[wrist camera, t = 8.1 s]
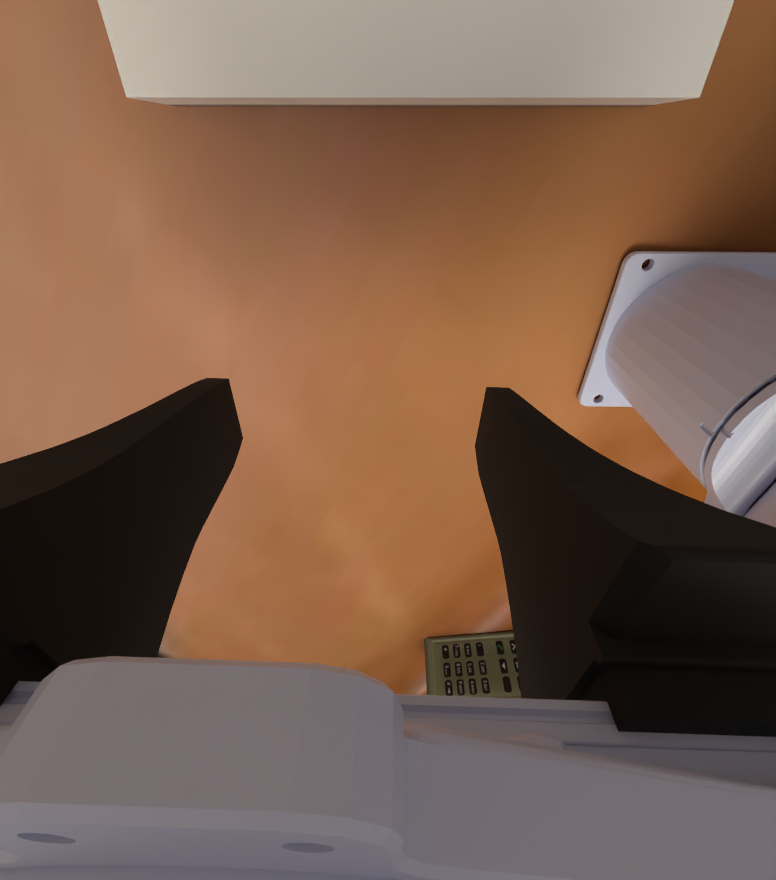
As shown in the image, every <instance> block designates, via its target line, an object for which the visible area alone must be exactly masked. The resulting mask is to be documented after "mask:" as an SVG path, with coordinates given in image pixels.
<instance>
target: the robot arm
mask: <svg viewBox="0 0 776 880" xmlns="http://www.w3.org/2000/svg"><path fill="white" fill-rule="evenodd" d="M647 259H650V263H649V265H648V266H647V267H646V268H644V269H642V264H643V262H644V261H645V260H647ZM597 395H600V397H599V398H598V399H595V400H594V398H595V397H596V396H597ZM578 400H579V402H580V403H581V404H582V405H583V406H608V407H633V408H634V409H635V410H636V411H637V412H638V413H639V414H640V415H641V417H642V418H643V419H644V420H645V421H646V422H647V423H648V424H649V426H650V427H651V428H652V429H653V430H654V431H655V432H656V433H657V435H658V436H659V437H660V438H661V439H662V440H663V441H664V442H665V444H666V445H667V446H668V447H669V448H670V449H671V450H672V451H673V453H674V454H675V455H676V456H677V457H678V458H679V459H680V460H681V462H682V463H683V464H684V465H685V466H686V467H687V468H688V469H689V471H690V472H691V473H692V474H693V475H694V476H695V477H696V478H697V480H698V481H699V482H700V483H701V484H702V485H703V486H704V487H705V489H706V490H707V496H706V499H705V501H704V503H703V502H701V501H698V500H696V499H693V498H690V497H688V496H685V495H683V494H680V493H678V492H676V491H673V490H671V489H669V488H666V487H664V486H662V485H660V484H658V483H655V482H653V481H651V480H649V479H647V478H645V477H643V476H641V475H638V474H636V473H634V472H632V471H630V470H628V469H626V468H625V467H623V466H621V465H619V464H617V463H615V462H614V461H612V460H610V459H608V458H607V457H605V456H603V455H601V454H600V453H598V452H596V451H595V450H593V449H591V448H590V447H588V446H586V445H585V444H583V443H582V442H581V441H579V440H578V439H576V438H575V437H573V436H572V435H570V434H569V433H567V432H566V431H565V430H563V429H562V428H560V427H559V426H558V425H556V424H555V423H554V422H552V421H551V420H550V419H548V418H547V417H546V416H545V415H543V414H542V413H541V412H539V411H538V410H537V409H536V408H534V407H533V406H532V405H531V404H529V403H528V402H527V401H526V400H524V399H523V398H522V397H521V396H519V395H518V394H517V393H515V392H514V391H513V390H511V389H510V388H498V387H486V392H485V398H484V403H483V408H482V413H481V418H480V423H479V428H478V433H477V438H476V443H475V449H476V457H477V465H478V471H479V477H480V480H481V484H482V487H483V491H484V494H485V498H486V501H487V505H488V508H489V512H490V515H491V518H492V522H493V525H494V529H495V532H496V535H497V539H498V543H499V547H500V551H501V556H502V562H503V568H504V573H505V579H506V585H507V592H508V598H509V605H510V611H511V618H512V625H513V633H514V640H515V648H516V656H517V663H518V672H519V682H520V691H521V698H495V697H467V696H438V695H409V694H394V692H393V691H392V690H391V689H390V688H389V687H388V686H387V685H386V684H385V683H383V682H381V681H379V680H377V679H375V678H372V677H370V676H368V675H366V674H364V673H362V672H360V671H358V670H355V669H348V668H342V667H335V666H329V665H322V664H316V663H294V662H265V661H236V660H207V659H178V658H157V655H158V651H159V648H160V645H161V641H162V638H163V635H164V631H165V628H166V625H167V622H168V618H169V615H170V612H171V609H172V606H173V603H174V600H175V597H176V594H177V591H178V588H179V585H180V583H181V580H182V577H183V574H184V571H185V569H186V566H187V563H188V561H189V558H190V555H191V553H192V550H193V547H194V545H195V542H196V540H197V538H198V536H199V534H200V532H201V529H202V527H203V525H204V524H205V522H206V520H207V518H208V516H209V514H210V512H211V510H212V508H213V506H214V504H215V502H216V500H217V498H218V497H219V495H220V493H221V491H222V489H223V487H224V485H225V483H226V481H227V479H228V477H229V475H230V473H231V471H232V469H233V467H234V464H235V461H236V458H237V455H238V452H239V449H240V446H241V443H242V439H243V436H242V432H241V428H240V424H239V420H238V416H237V412H236V407H235V403H234V399H233V395H232V391H231V387H230V383H229V379H220V378H206V379H203V380H200V381H198V382H195V383H193V384H191V385H189V386H187V387H185V388H183V389H181V390H179V391H177V392H175V393H173V394H171V395H169V396H167V397H165V398H163V399H161V400H159V401H158V402H156V403H154V404H152V405H150V406H148V407H146V408H144V409H142V410H140V411H138V412H136V413H133V414H131V415H129V416H127V417H125V418H123V419H121V420H119V421H116V422H114V423H112V424H110V425H108V426H106V427H103V428H101V429H99V430H97V431H94V432H92V433H89V434H87V435H84V436H82V437H79V438H77V439H74V440H71V441H69V442H66V443H63V444H61V445H58V446H55V447H52V448H49V449H46V450H43V451H40V452H37V453H33V454H30V455H27V456H24V457H21V458H18V459H15V460H11V461H8V462H5V463H2V464H0V880H776V252H693V251H635V252H632V253H630V254H628V255H627V256H626V257H625V258H624V260H623V262H622V265H621V268H620V271H619V274H618V277H617V280H616V283H615V286H614V289H613V292H612V295H611V298H610V301H609V304H608V307H607V310H606V313H605V316H604V319H603V322H602V325H601V328H600V331H599V334H598V337H597V340H596V343H595V346H594V349H593V352H592V355H591V358H590V361H589V364H588V367H587V370H586V373H585V376H584V379H583V382H582V385H581V388H580V391H579V394H578Z"/></svg>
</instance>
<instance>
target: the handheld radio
mask: <svg viewBox="0 0 776 880" xmlns="http://www.w3.org/2000/svg"><path fill="white" fill-rule="evenodd" d="M424 643H425V663H426V682H427V695H438V696H467V697H495V698H521V691H520V682H519V672H518V663H517V656H516V648H515V640H514V633H513V631H506V632H494V633H482V634H469V635H457V636H445V637H433V638H426V639H425V640H424Z"/></svg>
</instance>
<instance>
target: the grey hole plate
mask: <svg viewBox="0 0 776 880" xmlns="http://www.w3.org/2000/svg"><path fill="white" fill-rule="evenodd" d="M98 3H99V7H100V10H101V13H102V17H103V20H104V24H105V27H106V30H107V34H108V37H109V40H110V44H111V47H112V50H113V54H114V57H115V61H116V64H117V67H118V71H119V74H120V77H121V81H122V84H123V87H124V91H125V94H126V97H127V98H132V99H138V100H144V101H149V102H155V103H161V104H166V105H172V106H526V107H644V106H651V105H657V104H663V103H669V102H676V101H682V100H688V99H694V98H700V95H701V92H702V89H703V87H704V84H705V81H706V78H707V76H708V73H709V70H710V67H711V64H712V62H713V59H714V56H715V53H716V50H717V48H718V45H719V42H720V39H721V36H722V34H723V31H724V28H725V25H726V22H727V20H728V17H729V14H730V11H731V8H732V6H733V3H734V0H98Z"/></svg>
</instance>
